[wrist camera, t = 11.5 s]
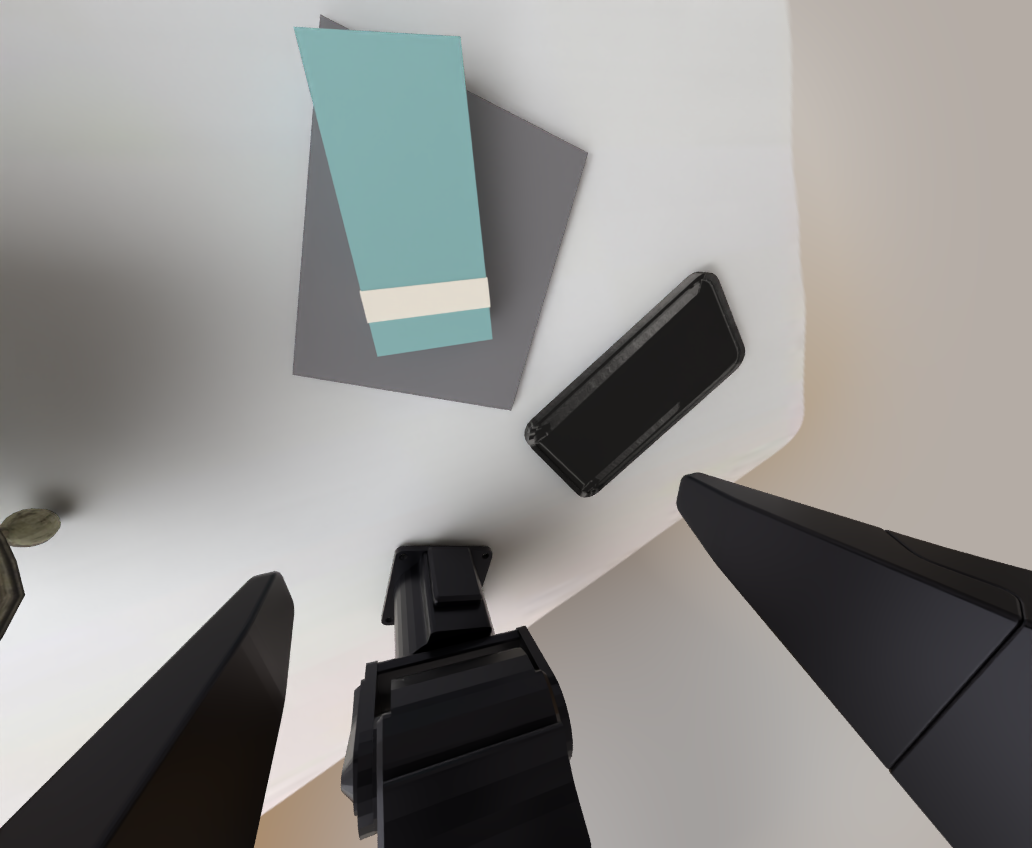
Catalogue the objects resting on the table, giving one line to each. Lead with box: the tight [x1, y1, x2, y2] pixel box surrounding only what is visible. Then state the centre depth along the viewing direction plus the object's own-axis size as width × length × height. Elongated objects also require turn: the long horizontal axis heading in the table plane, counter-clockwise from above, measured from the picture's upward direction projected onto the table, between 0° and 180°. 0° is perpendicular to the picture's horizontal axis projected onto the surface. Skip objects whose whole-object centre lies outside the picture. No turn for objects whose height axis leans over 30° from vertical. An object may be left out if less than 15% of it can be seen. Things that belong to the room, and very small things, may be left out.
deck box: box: [294, 27, 493, 357], centre depth 15 cm, size 2×5×10 cm
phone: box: [525, 272, 745, 497], centre depth 24 cm, size 8×1×15 cm
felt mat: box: [293, 15, 588, 410], centre depth 17 cm, size 13×11×1 cm
